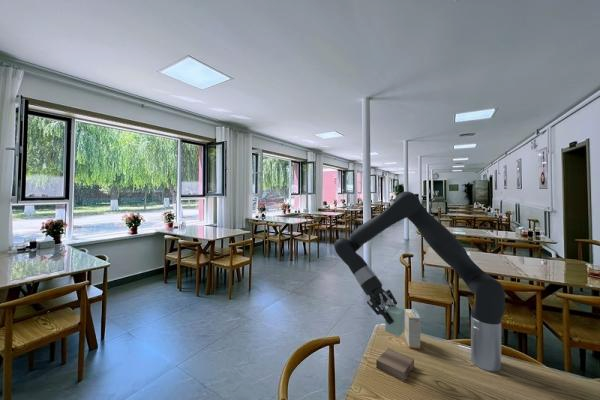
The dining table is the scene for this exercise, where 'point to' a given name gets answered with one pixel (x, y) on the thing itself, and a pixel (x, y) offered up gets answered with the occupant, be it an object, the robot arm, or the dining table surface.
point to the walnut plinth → (395, 364)
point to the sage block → (395, 321)
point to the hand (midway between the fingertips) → (395, 320)
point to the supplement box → (412, 328)
